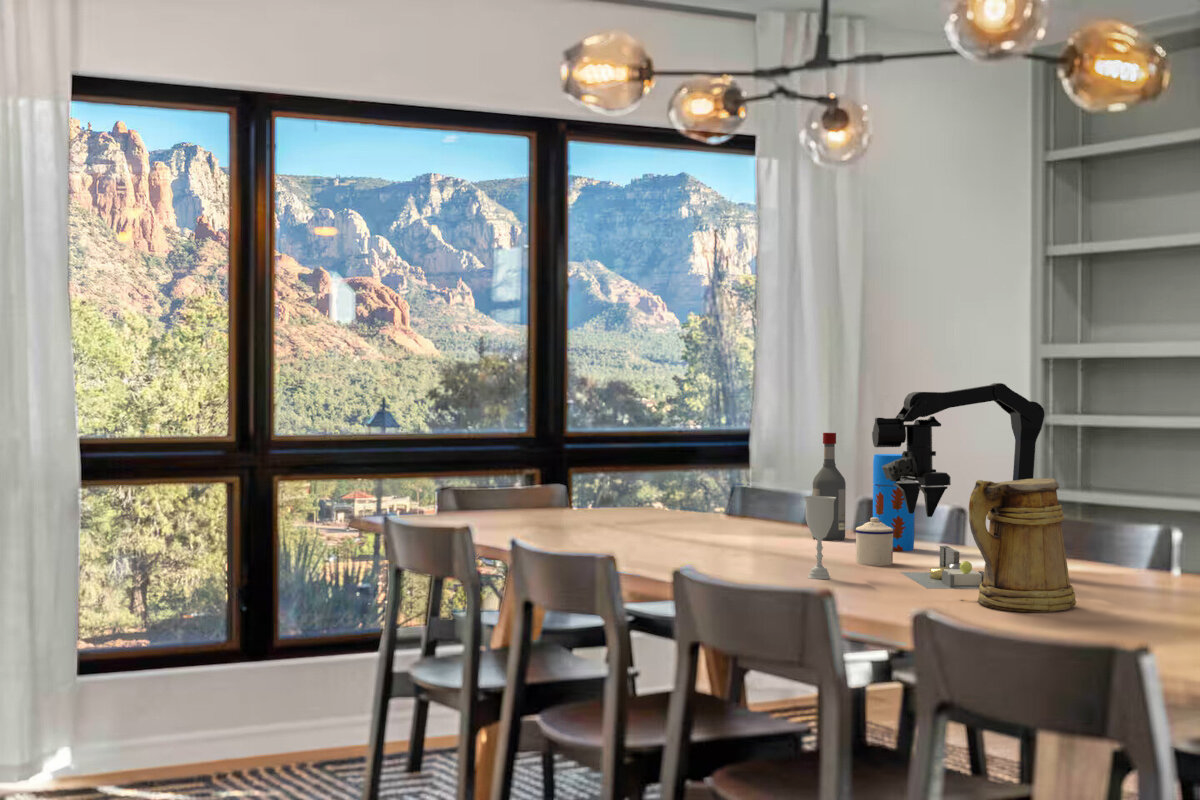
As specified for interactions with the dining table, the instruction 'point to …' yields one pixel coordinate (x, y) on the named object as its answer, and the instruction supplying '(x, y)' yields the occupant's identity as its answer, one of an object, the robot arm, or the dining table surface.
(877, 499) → the thermos
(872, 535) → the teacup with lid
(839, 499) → the liquor
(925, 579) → the level stand
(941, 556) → the cam capstan
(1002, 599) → the tankard
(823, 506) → the chalice
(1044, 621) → the dining table surface
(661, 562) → the dining table surface
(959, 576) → the cam foot
